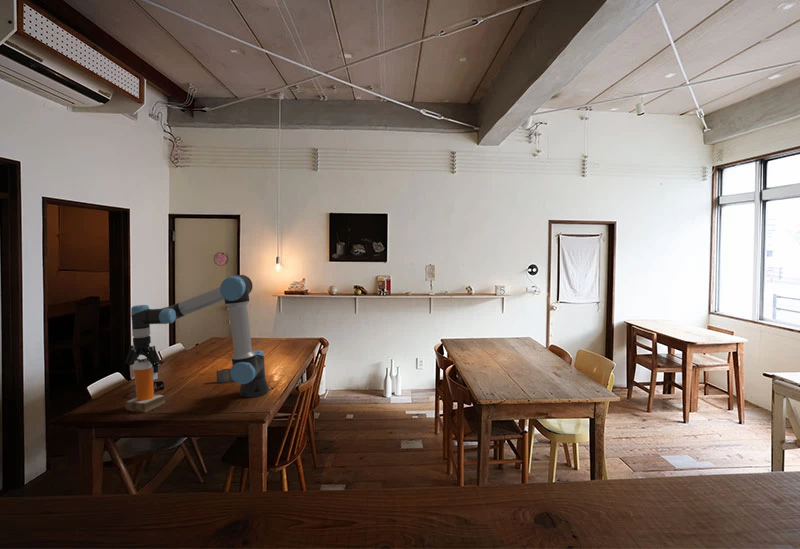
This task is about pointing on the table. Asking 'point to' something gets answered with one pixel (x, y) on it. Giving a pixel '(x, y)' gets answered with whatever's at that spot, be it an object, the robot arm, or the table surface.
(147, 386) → the shaker bottle
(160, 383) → the sunglasses
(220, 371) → the dark angular channel piece
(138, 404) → the block
